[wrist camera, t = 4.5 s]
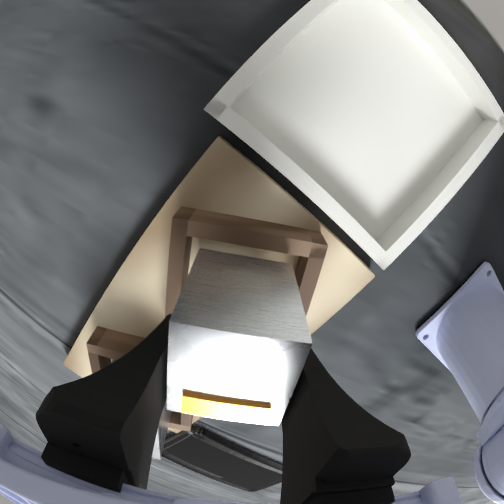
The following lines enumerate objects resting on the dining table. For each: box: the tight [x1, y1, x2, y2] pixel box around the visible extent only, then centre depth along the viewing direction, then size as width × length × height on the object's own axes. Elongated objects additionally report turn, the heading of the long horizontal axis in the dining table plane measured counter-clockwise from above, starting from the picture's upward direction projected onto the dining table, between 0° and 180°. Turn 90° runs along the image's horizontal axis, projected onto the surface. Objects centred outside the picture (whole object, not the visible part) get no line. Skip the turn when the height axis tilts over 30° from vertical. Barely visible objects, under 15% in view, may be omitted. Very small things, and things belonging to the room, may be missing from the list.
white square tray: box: [204, 0, 504, 270], centre depth 14 cm, size 13×13×2 cm
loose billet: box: [167, 248, 312, 426], centre depth 13 cm, size 4×4×6 cm
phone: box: [161, 426, 283, 492], centre depth 28 cm, size 8×1×15 cm
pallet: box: [64, 136, 375, 433], centre depth 19 cm, size 12×22×3 cm, turn 139°
